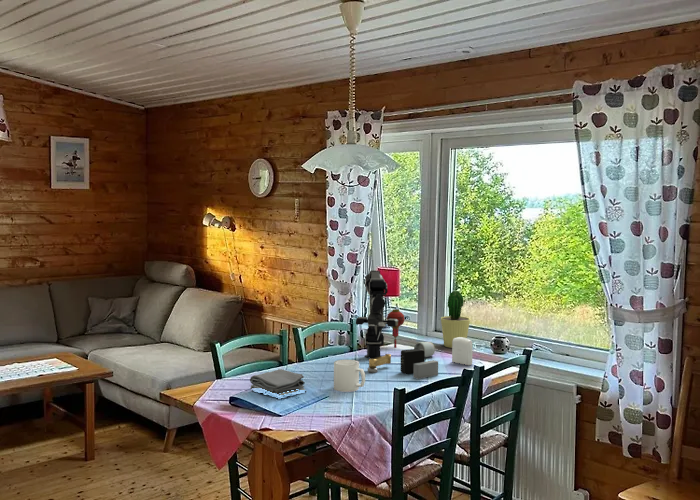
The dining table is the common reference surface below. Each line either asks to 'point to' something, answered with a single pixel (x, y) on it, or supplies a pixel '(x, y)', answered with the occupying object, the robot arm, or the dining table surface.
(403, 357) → the electronic device
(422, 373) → the socket block
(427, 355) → the ceramic mug
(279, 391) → the towel
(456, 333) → the potted cactus
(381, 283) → the robot arm
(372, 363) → the gold bone
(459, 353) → the white rounded block
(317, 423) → the dining table surface
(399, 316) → the lantern
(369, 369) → the grey round base
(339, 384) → the mug
